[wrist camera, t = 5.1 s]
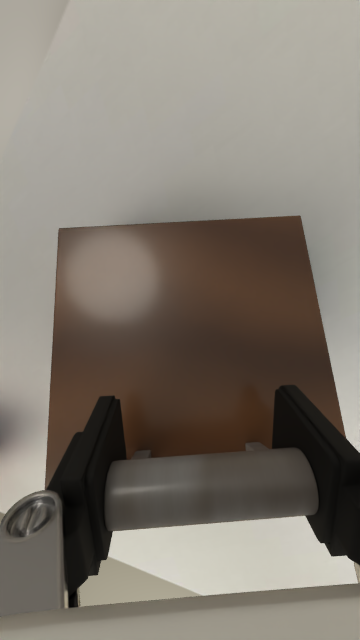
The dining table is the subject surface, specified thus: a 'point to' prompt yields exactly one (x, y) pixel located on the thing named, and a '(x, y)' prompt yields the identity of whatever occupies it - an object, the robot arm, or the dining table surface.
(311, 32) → the dining table surface
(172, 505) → the lid
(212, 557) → the dining table surface
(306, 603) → the robot arm
